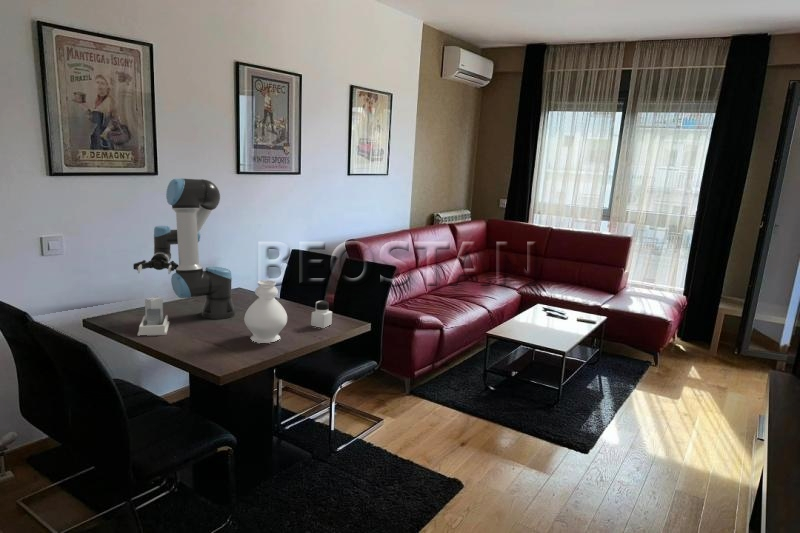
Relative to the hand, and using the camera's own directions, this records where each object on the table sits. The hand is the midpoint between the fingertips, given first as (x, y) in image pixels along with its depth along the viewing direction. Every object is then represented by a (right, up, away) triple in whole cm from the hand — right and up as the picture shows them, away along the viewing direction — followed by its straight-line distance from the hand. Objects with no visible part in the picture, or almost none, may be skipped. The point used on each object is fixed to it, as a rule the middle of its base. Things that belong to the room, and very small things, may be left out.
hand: (154, 270), depth 239 cm
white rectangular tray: (+4, -25, -9) cm, 27 cm away
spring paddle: (+4, -24, -10) cm, 26 cm away
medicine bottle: (+74, -27, +12) cm, 79 cm away
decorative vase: (+53, -30, -11) cm, 62 cm away
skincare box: (+3, -24, -6) cm, 25 cm away
